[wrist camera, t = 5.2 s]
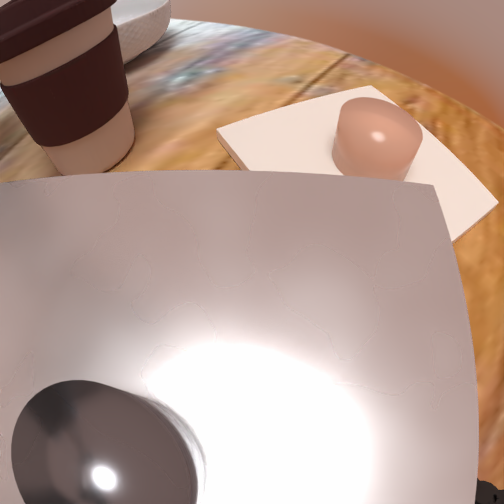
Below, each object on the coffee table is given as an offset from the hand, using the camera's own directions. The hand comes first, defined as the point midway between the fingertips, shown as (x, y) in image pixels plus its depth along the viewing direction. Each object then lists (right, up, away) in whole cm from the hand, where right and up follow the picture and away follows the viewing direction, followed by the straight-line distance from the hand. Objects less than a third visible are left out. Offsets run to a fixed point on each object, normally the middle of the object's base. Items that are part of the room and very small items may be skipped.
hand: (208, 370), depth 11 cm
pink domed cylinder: (+10, +11, +10) cm, 18 cm away
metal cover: (0, -4, +2) cm, 5 cm away
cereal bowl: (-16, +29, +22) cm, 40 cm away
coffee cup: (-11, +13, +13) cm, 21 cm away
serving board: (+10, +10, +11) cm, 18 cm away
